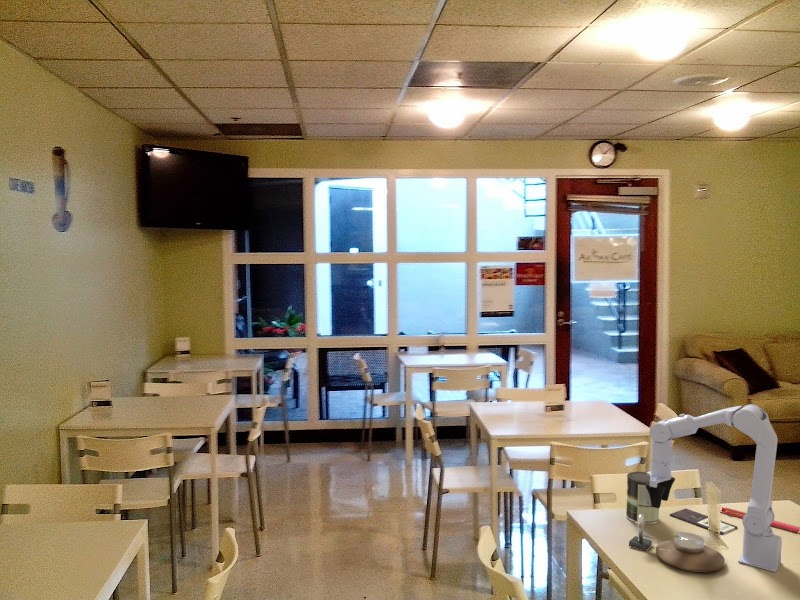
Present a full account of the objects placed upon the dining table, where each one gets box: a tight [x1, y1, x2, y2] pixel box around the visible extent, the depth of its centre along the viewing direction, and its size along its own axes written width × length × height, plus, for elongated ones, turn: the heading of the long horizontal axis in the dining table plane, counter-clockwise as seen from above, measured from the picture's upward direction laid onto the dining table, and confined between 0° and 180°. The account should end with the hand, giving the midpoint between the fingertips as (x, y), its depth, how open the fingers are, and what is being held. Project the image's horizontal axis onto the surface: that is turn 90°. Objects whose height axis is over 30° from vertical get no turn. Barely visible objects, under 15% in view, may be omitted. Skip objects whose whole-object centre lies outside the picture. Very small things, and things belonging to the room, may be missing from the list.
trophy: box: [628, 514, 655, 552], centre depth 200 cm, size 6×5×10 cm
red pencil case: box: [721, 506, 800, 533], centre depth 220 cm, size 24×2×5 cm
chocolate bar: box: [669, 508, 738, 536], centre depth 219 cm, size 9×1×18 cm
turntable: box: [655, 539, 726, 573], centre depth 192 cm, size 18×18×1 cm
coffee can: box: [625, 471, 660, 525], centre depth 221 cm, size 10×10×14 cm
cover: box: [673, 531, 705, 554], centre depth 196 cm, size 8×8×3 cm
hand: (659, 503), depth 208 cm, fingers open, 7 cm apart
